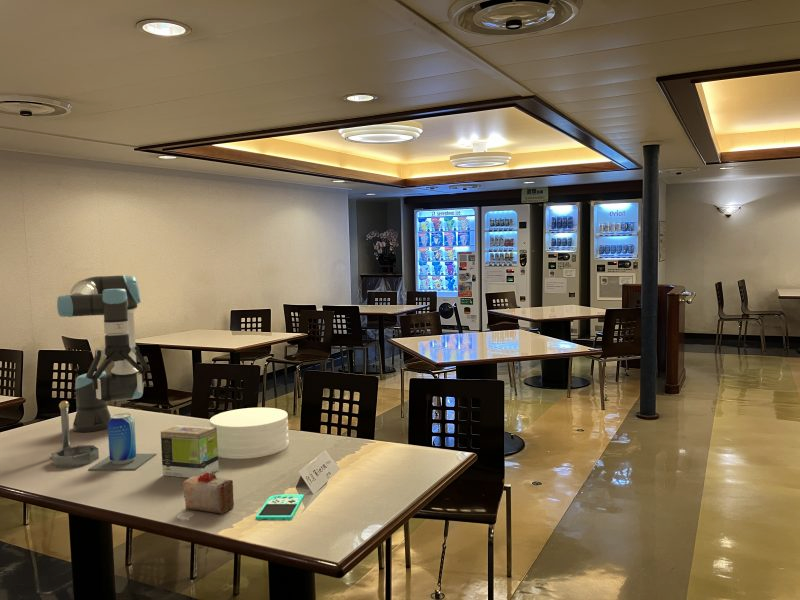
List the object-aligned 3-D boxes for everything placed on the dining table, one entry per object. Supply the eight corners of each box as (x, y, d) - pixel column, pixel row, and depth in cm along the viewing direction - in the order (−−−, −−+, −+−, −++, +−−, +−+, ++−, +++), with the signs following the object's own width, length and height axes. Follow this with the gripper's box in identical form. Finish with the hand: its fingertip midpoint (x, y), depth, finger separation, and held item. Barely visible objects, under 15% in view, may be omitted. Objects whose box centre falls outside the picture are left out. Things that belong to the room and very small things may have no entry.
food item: (179, 510, 170) (177, 475, 169) (198, 500, 177) (196, 466, 176) (220, 516, 165) (219, 480, 164) (238, 505, 172) (236, 471, 172)
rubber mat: (112, 455, 221) (112, 453, 221) (156, 454, 220) (156, 453, 220) (88, 470, 205) (88, 469, 205) (135, 470, 204) (135, 468, 204)
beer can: (141, 457, 216) (138, 412, 215) (128, 465, 208) (125, 418, 207) (118, 457, 217) (116, 412, 216) (104, 464, 208) (102, 418, 207)
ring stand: (63, 451, 227) (60, 398, 226) (111, 450, 226) (108, 398, 225) (31, 467, 209) (28, 411, 208) (84, 467, 208) (80, 410, 207)
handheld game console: (305, 498, 178) (305, 493, 178) (292, 521, 162) (292, 516, 162) (271, 498, 178) (270, 493, 178) (255, 521, 162) (254, 516, 162)
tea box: (219, 469, 202) (217, 425, 202) (200, 480, 193) (198, 434, 192) (182, 465, 207) (180, 422, 206) (161, 476, 198) (159, 430, 197)
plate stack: (194, 454, 220) (193, 423, 219) (242, 433, 246) (241, 405, 245) (259, 462, 209) (258, 429, 209) (302, 439, 235) (301, 410, 235)
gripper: (80, 338, 198) (84, 403, 200) (157, 331, 215) (160, 390, 217) (73, 336, 204) (77, 399, 205) (149, 329, 221) (152, 387, 222)
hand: (119, 395), depth 211 cm, fingers open, 13 cm apart
